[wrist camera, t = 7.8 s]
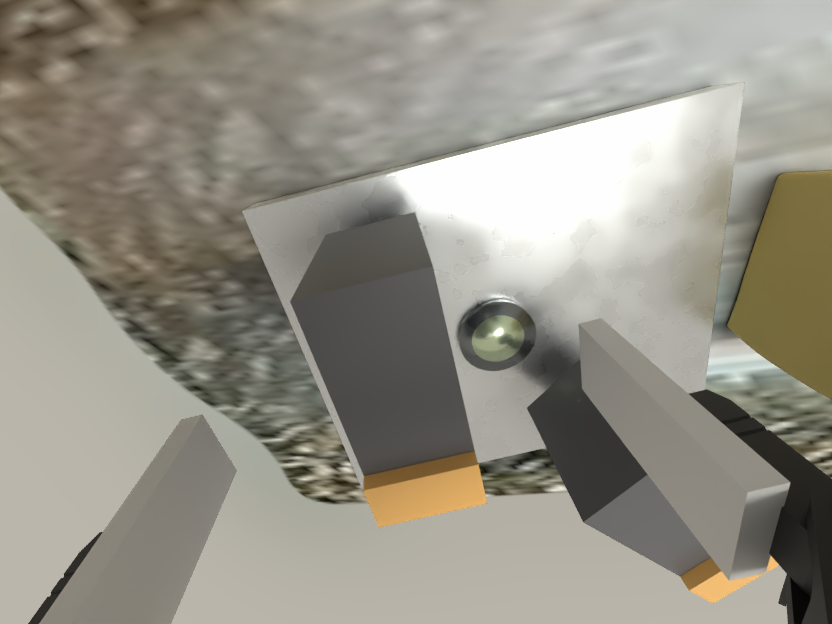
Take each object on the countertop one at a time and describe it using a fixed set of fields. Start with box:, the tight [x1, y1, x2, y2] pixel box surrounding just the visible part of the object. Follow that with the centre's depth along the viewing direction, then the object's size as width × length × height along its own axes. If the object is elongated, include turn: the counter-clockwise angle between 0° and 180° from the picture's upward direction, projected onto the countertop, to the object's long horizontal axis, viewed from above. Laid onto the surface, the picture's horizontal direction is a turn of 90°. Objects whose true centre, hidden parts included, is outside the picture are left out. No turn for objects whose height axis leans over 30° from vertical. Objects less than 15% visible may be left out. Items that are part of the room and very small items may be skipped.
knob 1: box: [290, 212, 487, 527], centre depth 16 cm, size 9×4×10 cm, turn 13°
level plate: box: [242, 82, 745, 489], centre depth 23 cm, size 20×24×3 cm
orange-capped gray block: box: [527, 360, 779, 603], centre depth 20 cm, size 9×4×10 cm, turn 51°
